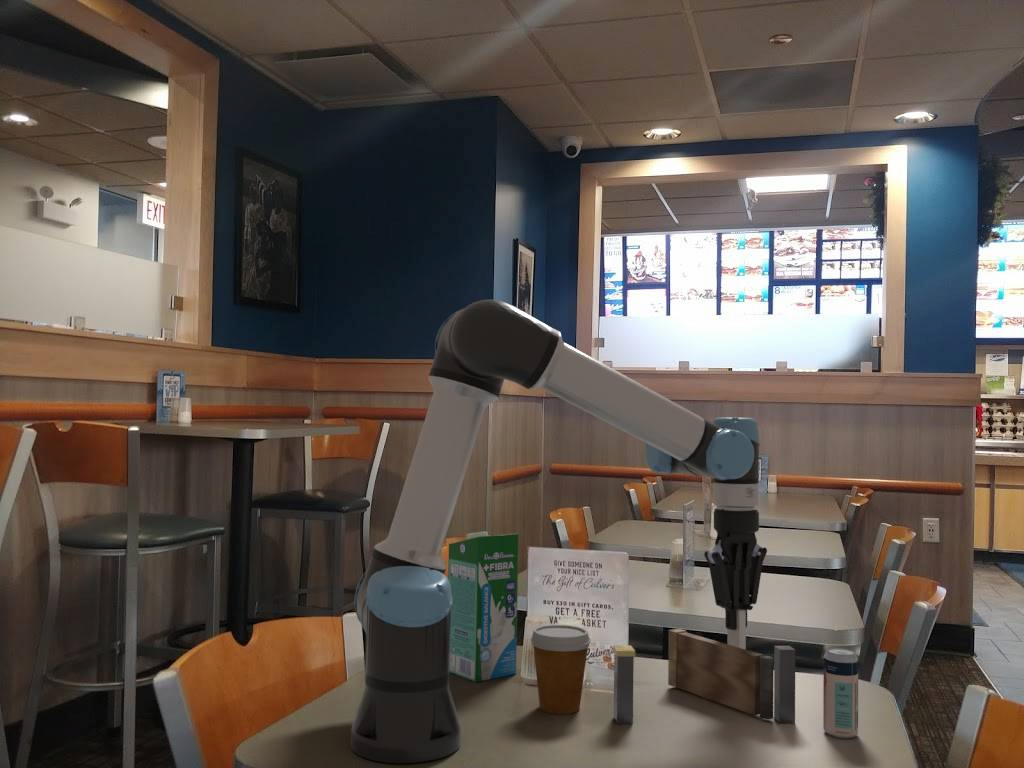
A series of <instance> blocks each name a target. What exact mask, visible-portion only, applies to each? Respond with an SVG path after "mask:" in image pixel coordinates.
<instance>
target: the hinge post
mask: <svg viewBox="0 0 1024 768" xmlns="http://www.w3.org/2000/svg"><path fill="white" fill-rule="evenodd" d="M773 649H774V653H773V658H774V666H773V719H774V720H776V722H778V723H779V724H796V649H795V648H793V647H792V646H791V645H774V646H773Z"/></svg>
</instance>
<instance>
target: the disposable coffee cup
mask: <svg viewBox="0 0 1024 768" xmlns="http://www.w3.org/2000/svg"><path fill="white" fill-rule="evenodd" d="M532 632H533V633H532V635H531V636H530V642H531V644H532V646H533V652H534V653H533V656H534V664H535V673H536V674H535V675H536V683H537V685H536V686H537V694H538V703H539V708H540V710H541V711H543V712H546V713H550V714H556V715H568V714H573V713H577V712H579V711H580V708H581V700H582V693H583V686H584V676H585V671H586V662H587V654H588V650H589V647H590V644H591V641H592V640H591V638H590V637H589V636H590V634H589V632H588V630H587V629H586V628H583V627H580V626H575V625H567V624H551V625H550V624H549V625H542V626H540V625H539V626H538V627H536V628H534V629H533V631H532Z"/></svg>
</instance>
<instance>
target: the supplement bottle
mask: <svg viewBox="0 0 1024 768" xmlns="http://www.w3.org/2000/svg"><path fill="white" fill-rule="evenodd" d="M822 688H823V697H822V698H823V699H822V700H823V702H822V704H823V714H822V715H823V716H822V717H823V719H822V723H823V725H822V727H823V728H822V729H823V731H825V732H826V733H827V735H829V736H831V737H833V738H837V739H845V740H847V739H853V738H854V737H856V736H857V735H858V734H859V658H858V656H857V654H856V652H855V651H853V650H852V649H847V648H840V647H833V648H832V647H831V648H828V649H826V651H825V653H824V655H823V687H822Z"/></svg>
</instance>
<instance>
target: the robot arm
mask: <svg viewBox="0 0 1024 768" xmlns="http://www.w3.org/2000/svg"><path fill="white" fill-rule="evenodd" d="M434 354H435V355H434V358H433V360H432V364H431V367H430V372H429V374H428V377H427V379H428V382H429V383H430V384H431V385H430V386H432V389H433V392H432V393H433V394H432V397H431V400H430V403H429V404H428V407H427V408H428V409H427V411H426V416H425V417H424V418H425V419H424V421H423V425H422V427H421V431H420V434H419V437H418V440H417V444H416V447H415V449H414V454H413V457H412V459H411V463H410V465H409V466H410V467H409V468H408V471H407V475H406V479H405V481H404V485H403V487H402V491H401V495H400V497H399V501H398V503H397V507H396V510H395V512H394V513H395V514H394V515H393V516H394V517H393V520H392V523H391V526H390V528H389V532H388V535H387V537H386V538H385V539H384V540H382V541H380V542H378V543H377V544H375V545H374V547H373V550H372V553H371V556H370V559H369V563H368V566H367V569H366V571H365V572H364V574H363V575H362V576H361V577H360V580H359V581H358V583H357V584H356V585H357V586H356V590H355V593H354V609H355V613H356V616H357V620H358V621H359V623H360V624H361V627H362V628H363V631H364V632H365V672H364V673H365V675H364V678H365V679H364V680H365V681H364V689H363V693H362V696H361V698H360V699H361V700H360V702H359V704H358V708H357V711H356V713H355V717H354V719H353V721H352V725H351V729H350V748H351V750H352V752H353V753H355V754H356V755H358V756H360V757H362V758H364V759H367V760H371V761H373V762H375V761H376V762H379V763H387V764H388V763H389V764H414V763H415V764H416V763H425V762H431V761H435V760H439V759H441V758H445V757H447V756H450V755H452V754H454V753H455V752H456V751H458V749H460V746H461V744H462V727H461V722H460V719H459V715H458V712H457V709H456V705H455V701H454V698H453V695H452V692H451V689H450V672H449V671H450V631H451V608H452V601H453V600H452V594H451V585H450V582H449V580H448V576H446V574H445V573H446V570H447V565H446V563H445V561H444V559H443V556H442V550H443V547H444V544H445V540H446V538H447V535H448V530H449V528H450V525H451V524H450V523H451V521H452V517H453V514H454V511H455V509H456V508H455V507H456V505H457V502H458V498H459V495H460V492H461V488H462V485H463V482H464V479H465V475H466V472H467V469H468V465H469V462H470V458H471V456H472V452H473V450H474V446H475V443H476V439H477V436H478V433H479V430H480V427H481V423H482V420H483V417H484V413H485V410H486V408H487V407H488V406H489V405H491V404H494V403H495V402H497V401H498V400H499V397H500V394H501V391H502V388H503V385H504V382H505V380H507V381H510V382H512V383H514V384H517V385H520V386H521V387H523V388H525V389H526V390H531V391H532V390H534V389H537V388H539V389H542V390H543V391H545V392H548V393H550V394H552V395H553V396H555V397H557V398H558V399H561V400H563V401H565V402H567V403H569V404H571V405H573V406H574V407H576V408H578V409H580V410H582V411H584V412H586V413H588V414H589V415H592V416H593V417H595V418H597V419H599V420H602V421H603V422H605V423H608V424H609V425H611V426H612V427H614V428H616V429H618V430H620V431H622V432H625V433H626V434H628V435H630V436H632V437H633V438H636V439H638V440H640V441H642V442H644V443H645V449H644V450H645V452H644V455H645V460H646V464H647V466H648V468H649V470H651V472H653V473H655V474H663V475H664V474H666V475H671V474H675V475H676V474H678V475H679V474H681V475H689V476H698V477H706V478H711V479H713V486H712V487H713V488H712V489H713V496H712V497H713V502H712V503H713V505H714V506H715V507H716V508H714V510H713V529H714V531H716V534H717V535H716V538H715V540H714V547H713V548H712V549H710V550H705V551H704V554H703V555H704V557H705V560H706V561H707V563H708V566H709V567H708V569H709V573H710V579H711V584H712V585H711V586H712V590H713V596H714V602H715V605H716V606H718V607H720V608H722V609H724V610H725V628H726V630H727V634H726V635H727V640H726V641H727V643H726V644H728V645H732V646H735V647H739V648H742V649H745V650H747V649H746V648H747V647H746V645H747V643H746V642H747V639H746V636H747V635H746V629H747V627H748V611H752V610H753V607H754V606H753V605H756V604H757V602H758V596H759V590H760V589H759V588H760V584H761V583H760V582H761V576H762V571H763V565H764V564H763V563H764V560H765V557H766V555H767V552H768V549H767V548H766V547H764V546H761V545H759V544H758V543H757V542H758V540H757V536H756V533H757V532H758V531H760V530H759V529H760V512H759V510H758V509H756V508H758V507H759V503H760V502H759V501H760V500H759V481H760V480H759V473H760V472H759V470H760V469H759V465H760V462H759V461H760V460H759V458H760V457H759V453H760V452H759V450H760V437H759V427H758V422H757V420H755V418H753V417H716V418H714V419H713V422H711V421H710V420H707V419H705V418H703V417H701V415H698V414H696V413H694V412H693V411H690V410H689V409H687V408H685V407H683V406H682V405H680V404H677V403H676V402H674V401H672V400H670V399H669V398H667V397H665V396H663V395H662V394H659V393H658V392H656V391H654V390H652V389H650V388H649V387H647V386H644V384H642V383H639V382H638V381H636V380H634V379H632V378H630V377H628V376H627V375H625V374H623V373H621V372H619V371H618V370H616V369H614V368H612V367H610V366H609V365H606V364H605V363H603V362H601V361H599V360H598V359H596V358H594V357H591V356H589V355H588V354H587V353H584V352H582V351H581V350H579V349H577V348H576V347H573V346H572V345H569V344H568V343H566V342H564V340H563V336H562V334H561V331H559V330H557V329H555V328H553V327H551V326H549V325H547V324H546V323H544V322H543V321H540V320H539V319H537V318H536V317H534V316H532V315H530V314H529V313H527V312H525V311H524V310H521V309H520V308H518V307H517V306H514V305H513V304H509V303H507V302H504V301H502V300H497V299H482V300H478V301H475V302H472V303H470V304H469V305H467V306H465V308H464V307H463V308H461V309H459V310H457V311H456V312H454V313H452V314H451V315H449V316H448V317H447V318H446V320H445V321H444V322H443V323H442V324H441V326H440V328H439V329H438V332H437V335H436V337H435V344H434Z"/></svg>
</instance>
